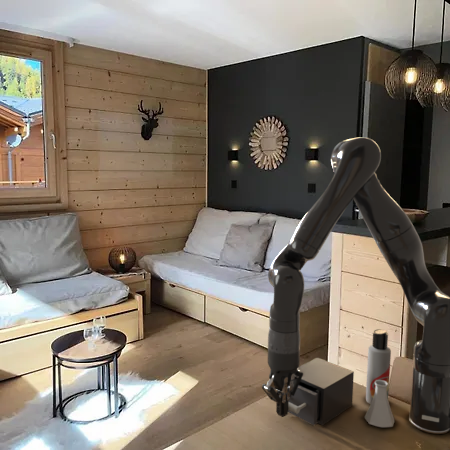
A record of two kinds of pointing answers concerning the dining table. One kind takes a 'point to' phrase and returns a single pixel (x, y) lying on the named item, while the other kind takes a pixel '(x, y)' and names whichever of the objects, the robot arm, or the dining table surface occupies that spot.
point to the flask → (380, 407)
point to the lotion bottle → (378, 363)
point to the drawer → (306, 403)
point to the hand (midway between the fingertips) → (282, 414)
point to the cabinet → (329, 386)
